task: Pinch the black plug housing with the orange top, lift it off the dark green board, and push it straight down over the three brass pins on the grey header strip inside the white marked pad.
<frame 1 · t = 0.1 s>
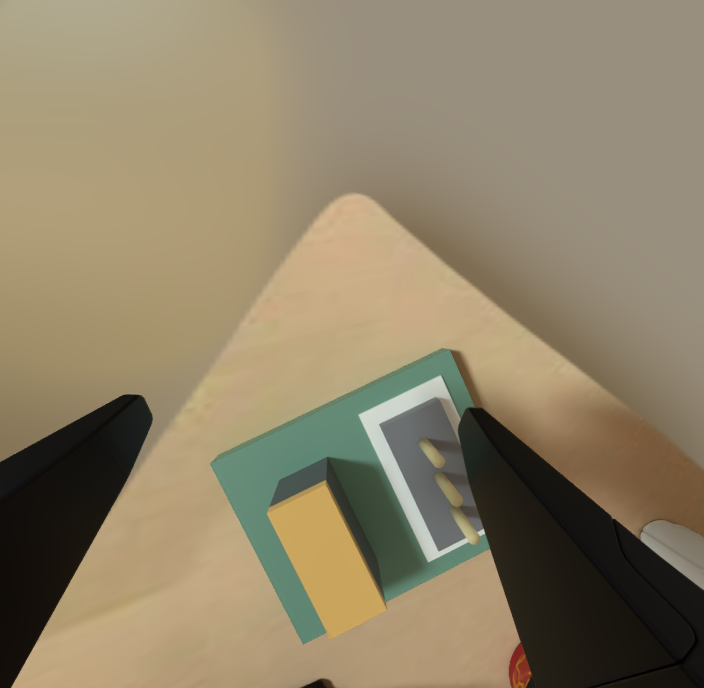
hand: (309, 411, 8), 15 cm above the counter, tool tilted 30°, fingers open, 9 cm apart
canned food: (546, 665, 25), on the counter
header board: (373, 487, 23), on the counter
plug housing: (329, 520, 22), point 1 cm above the counter, touching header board
photo printer: (659, 570, 26), on the counter
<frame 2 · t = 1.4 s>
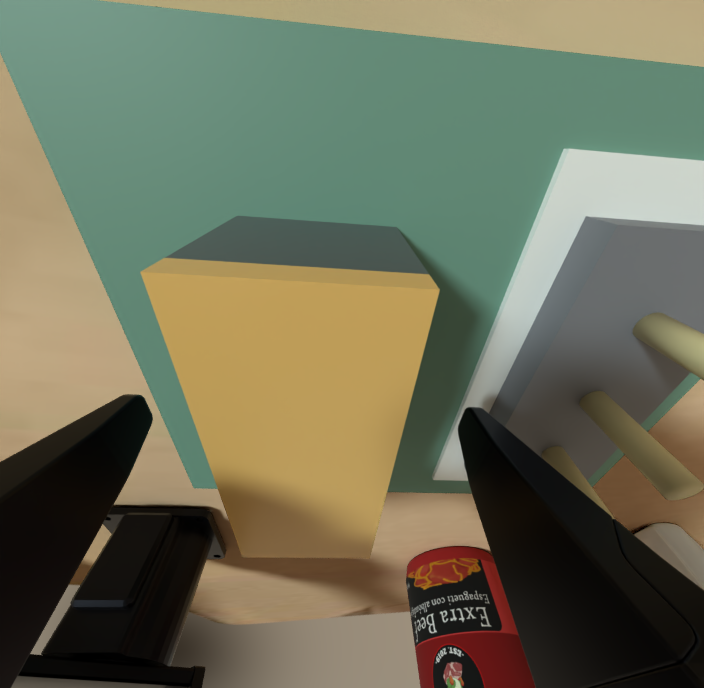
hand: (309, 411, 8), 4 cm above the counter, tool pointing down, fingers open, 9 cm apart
canned food: (448, 561, 24), on the counter
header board: (422, 345, 11), on the counter
plug housing: (317, 364, 10), point 1 cm above the counter, touching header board
photo printer: (614, 547, 23), on the counter
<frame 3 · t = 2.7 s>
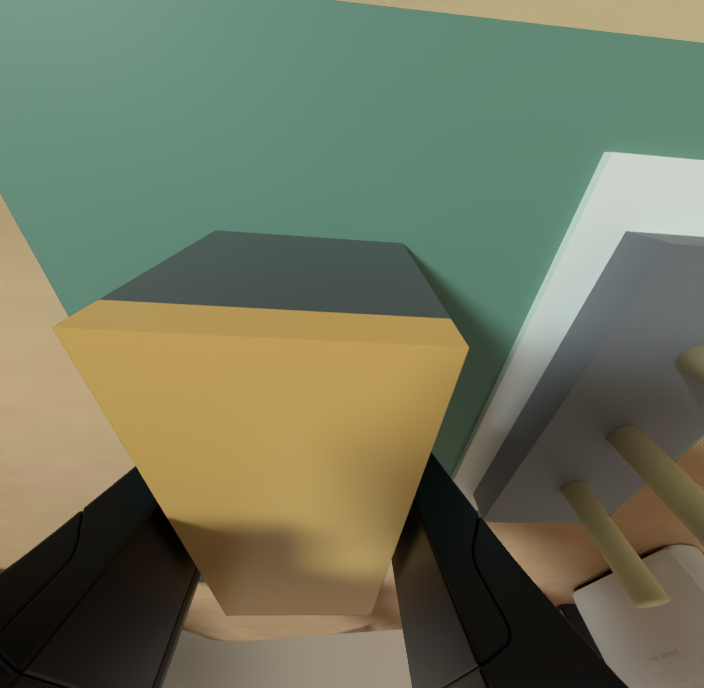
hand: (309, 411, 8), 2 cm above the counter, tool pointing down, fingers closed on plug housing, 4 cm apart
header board: (429, 368, 10), on the counter
plug housing: (312, 393, 9), point 2 cm above the counter, touching gripper, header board
ammunition clip: (608, 603, 27), on the counter
photo printer: (626, 567, 22), on the counter
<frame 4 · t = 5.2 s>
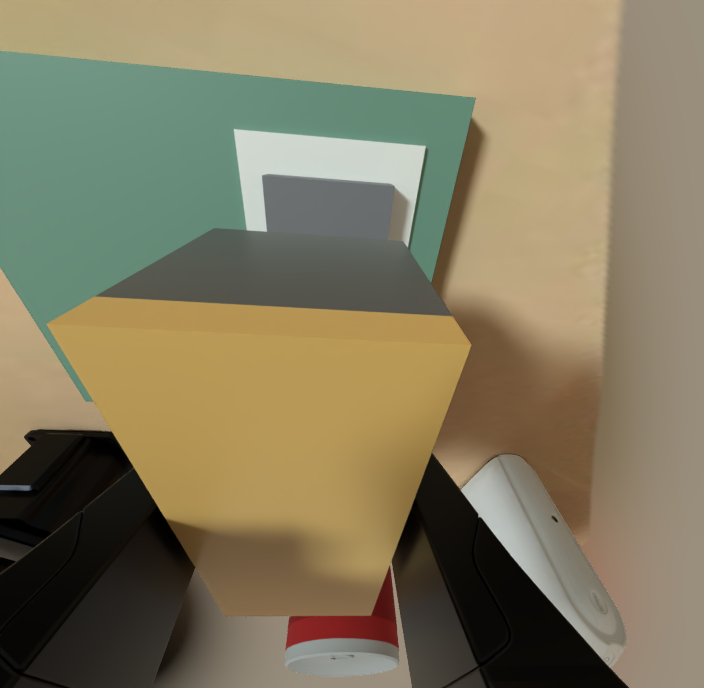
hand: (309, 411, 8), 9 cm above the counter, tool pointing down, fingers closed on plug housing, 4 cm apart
canned food: (343, 496, 28), on the counter
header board: (235, 281, 15), on the counter
plug housing: (312, 392, 9), point 8 cm above the counter, touching gripper
photo printer: (481, 482, 27), on the counter
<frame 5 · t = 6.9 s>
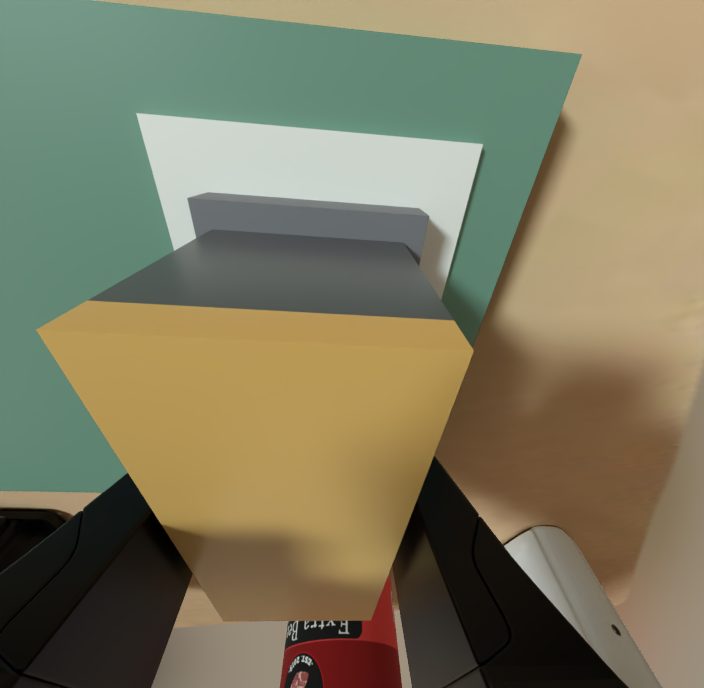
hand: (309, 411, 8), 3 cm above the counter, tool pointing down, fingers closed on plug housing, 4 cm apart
canned food: (342, 565, 23), on the counter
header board: (184, 339, 10), on the counter
plug housing: (311, 395, 9), point 3 cm above the counter, touching gripper, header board
photo printer: (508, 550, 22), on the counter
when the fingers open (3 cm above the counter, at t = 7.7 s): plug housing stays where it is, resting on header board.
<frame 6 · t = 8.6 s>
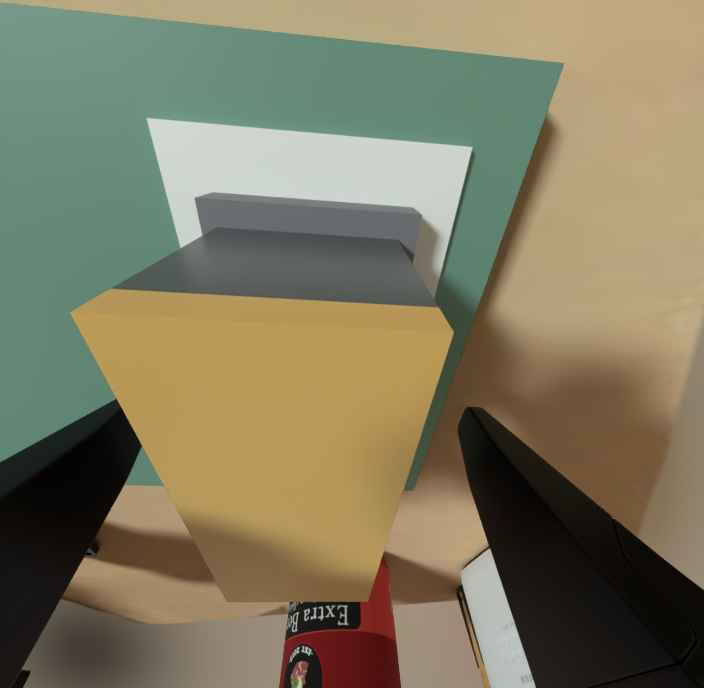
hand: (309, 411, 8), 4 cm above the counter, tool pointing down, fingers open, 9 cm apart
canned food: (341, 559, 24), on the counter
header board: (188, 334, 11), on the counter
plug housing: (311, 386, 9), point 3 cm above the counter, touching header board
ammunition clip: (510, 584, 28), on the counter
photo printer: (505, 545, 23), on the counter
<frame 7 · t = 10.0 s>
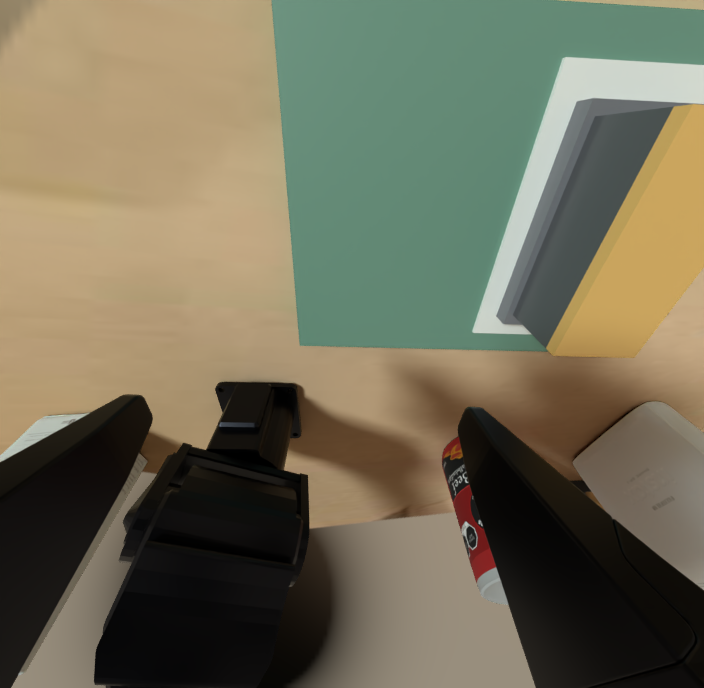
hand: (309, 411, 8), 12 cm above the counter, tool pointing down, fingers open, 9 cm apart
canned food: (476, 450, 29), on the counter
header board: (468, 221, 16), on the counter
plug housing: (585, 235, 14), point 3 cm above the counter, touching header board
skincare box: (104, 439, 28), on the counter
photo printer: (614, 433, 28), on the counter
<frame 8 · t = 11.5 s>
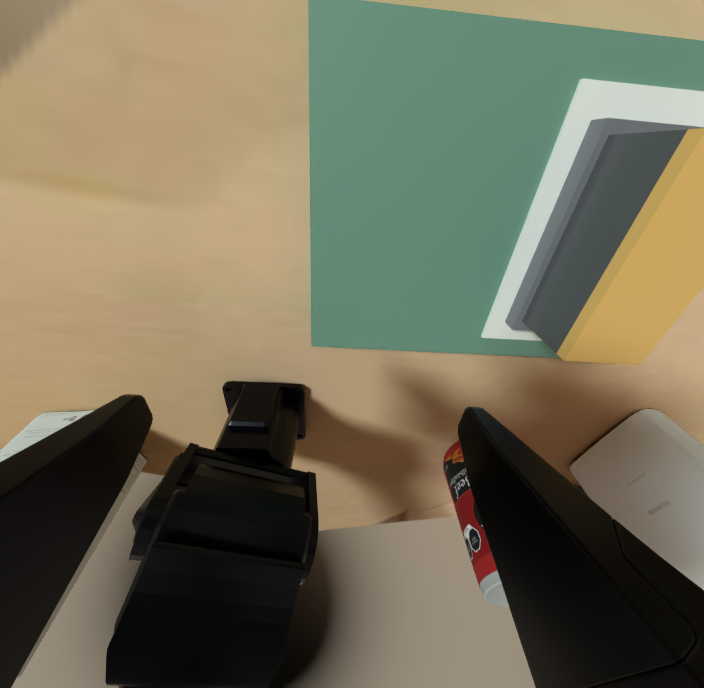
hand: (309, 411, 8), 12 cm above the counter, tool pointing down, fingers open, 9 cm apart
canned food: (477, 454, 30), on the counter
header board: (481, 229, 17), on the counter
plug housing: (594, 246, 15), point 3 cm above the counter, touching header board
skincare box: (103, 437, 27), on the counter
photo printer: (610, 439, 29), on the counter
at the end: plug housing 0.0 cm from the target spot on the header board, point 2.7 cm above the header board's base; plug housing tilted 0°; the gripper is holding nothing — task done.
